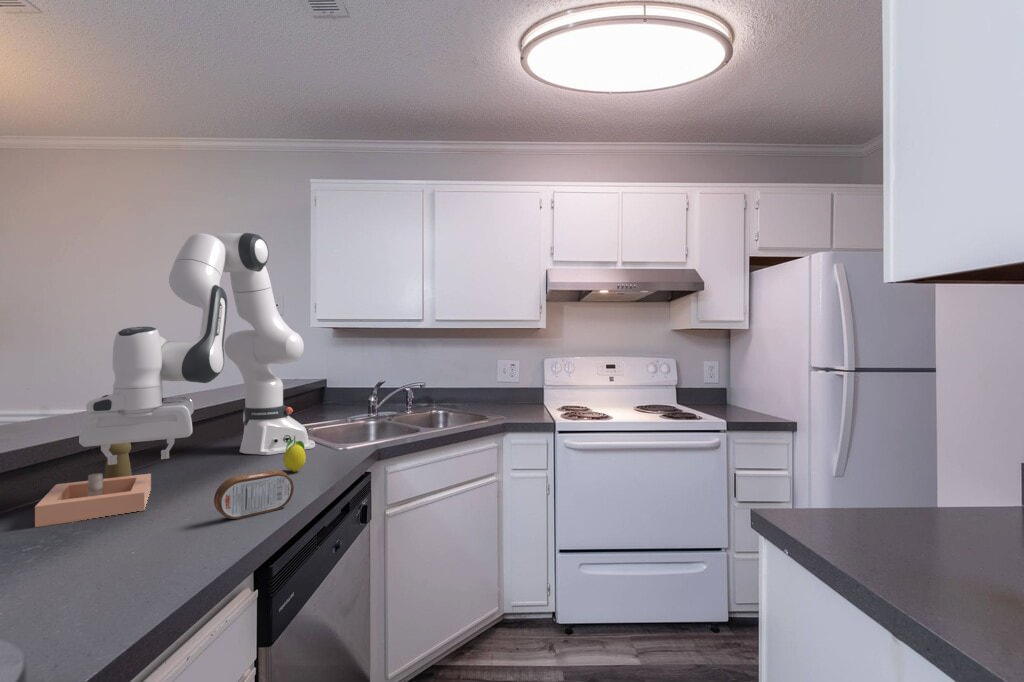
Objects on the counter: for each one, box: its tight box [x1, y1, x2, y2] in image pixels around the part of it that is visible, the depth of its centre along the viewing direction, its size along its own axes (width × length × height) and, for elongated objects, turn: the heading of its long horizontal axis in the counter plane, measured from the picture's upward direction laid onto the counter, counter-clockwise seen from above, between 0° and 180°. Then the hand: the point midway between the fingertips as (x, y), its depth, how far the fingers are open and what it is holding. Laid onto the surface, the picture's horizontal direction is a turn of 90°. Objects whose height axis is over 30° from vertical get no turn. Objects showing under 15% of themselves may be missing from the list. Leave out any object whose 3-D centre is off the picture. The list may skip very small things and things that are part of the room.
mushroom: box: [87, 472, 104, 497], centre depth 107 cm, size 10×10×7 cm
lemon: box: [283, 435, 307, 473], centre depth 136 cm, size 7×6×10 cm
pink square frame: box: [34, 473, 152, 528], centre depth 108 cm, size 17×17×4 cm
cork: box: [103, 443, 133, 479], centre depth 123 cm, size 6×6×11 cm
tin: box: [213, 469, 295, 520], centre depth 104 cm, size 15×3×8 cm, turn 134°
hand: (139, 461), depth 112 cm, fingers open, 8 cm apart
